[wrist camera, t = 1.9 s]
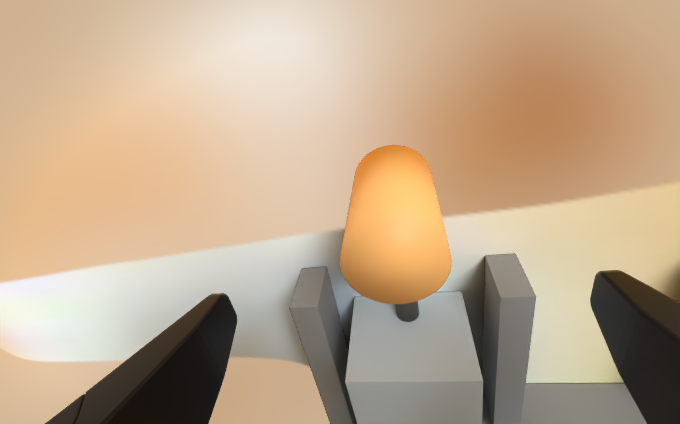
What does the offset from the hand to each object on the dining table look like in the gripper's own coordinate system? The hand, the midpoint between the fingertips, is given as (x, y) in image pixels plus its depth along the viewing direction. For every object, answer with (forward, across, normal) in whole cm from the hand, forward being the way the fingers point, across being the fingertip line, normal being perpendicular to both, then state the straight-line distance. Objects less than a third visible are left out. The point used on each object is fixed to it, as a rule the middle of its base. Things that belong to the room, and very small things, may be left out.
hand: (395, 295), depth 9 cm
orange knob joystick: (+6, 0, +5) cm, 8 cm away
